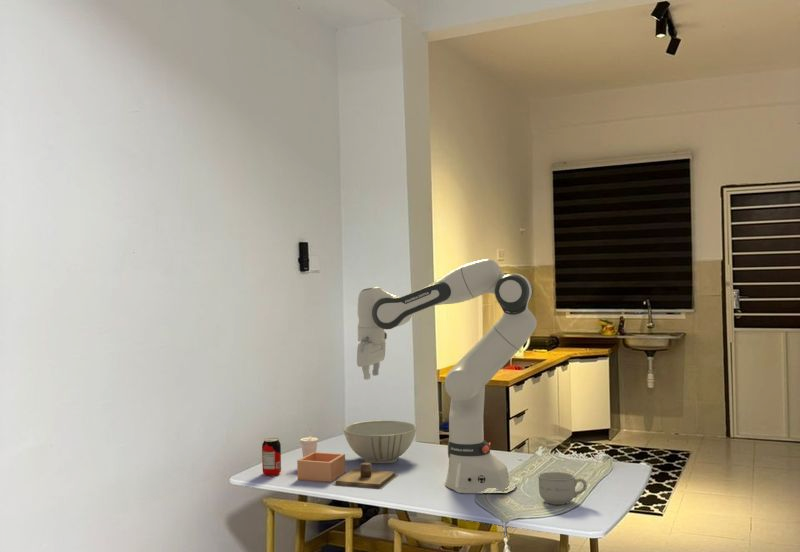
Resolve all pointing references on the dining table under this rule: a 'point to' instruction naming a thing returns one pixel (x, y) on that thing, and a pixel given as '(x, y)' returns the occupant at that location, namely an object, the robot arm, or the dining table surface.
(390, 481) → the rubber mat
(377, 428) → the decorative bowl
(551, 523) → the dining table surface
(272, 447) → the beverage can
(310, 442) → the smoothie
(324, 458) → the terracotta open box
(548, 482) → the teacup
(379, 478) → the walnut lid
